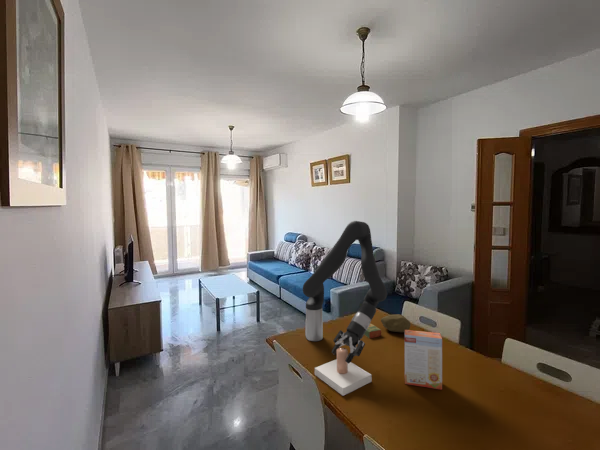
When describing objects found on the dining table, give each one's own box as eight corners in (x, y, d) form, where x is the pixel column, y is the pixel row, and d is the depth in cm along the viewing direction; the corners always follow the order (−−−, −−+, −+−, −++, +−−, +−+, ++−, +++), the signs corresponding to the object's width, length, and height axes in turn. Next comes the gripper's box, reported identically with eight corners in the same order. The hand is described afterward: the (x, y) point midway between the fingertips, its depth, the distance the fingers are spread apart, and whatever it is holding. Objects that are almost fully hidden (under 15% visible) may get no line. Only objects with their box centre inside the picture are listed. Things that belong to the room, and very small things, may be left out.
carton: (365, 326, 181) (365, 319, 181) (381, 336, 166) (381, 329, 166) (353, 328, 178) (353, 321, 178) (369, 339, 163) (369, 331, 163)
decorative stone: (377, 331, 172) (377, 314, 171) (383, 325, 181) (383, 309, 181) (407, 338, 162) (407, 320, 162) (412, 331, 172) (412, 314, 171)
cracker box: (440, 382, 122) (440, 332, 120) (442, 390, 116) (442, 338, 115) (404, 376, 126) (404, 328, 125) (404, 384, 120) (404, 334, 119)
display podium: (314, 374, 128) (314, 367, 128) (341, 363, 137) (341, 356, 137) (343, 395, 114) (342, 388, 113) (371, 381, 123) (371, 374, 122)
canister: (334, 370, 126) (334, 349, 126) (342, 366, 129) (342, 346, 128) (342, 375, 122) (341, 354, 122) (350, 371, 125) (349, 350, 124)
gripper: (343, 315, 134) (324, 347, 128) (367, 325, 123) (347, 360, 117) (351, 324, 138) (333, 355, 132) (375, 334, 126) (356, 369, 120)
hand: (339, 358), depth 124 cm, fingers open, 8 cm apart
